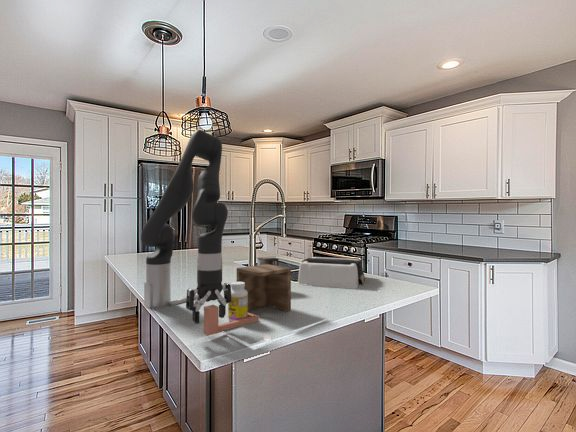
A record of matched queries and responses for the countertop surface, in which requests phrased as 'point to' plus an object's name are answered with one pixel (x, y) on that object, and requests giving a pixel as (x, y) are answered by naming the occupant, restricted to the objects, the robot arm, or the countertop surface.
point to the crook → (213, 327)
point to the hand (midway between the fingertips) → (209, 320)
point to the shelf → (267, 286)
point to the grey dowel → (180, 300)
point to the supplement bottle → (238, 302)
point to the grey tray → (331, 272)
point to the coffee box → (268, 261)
